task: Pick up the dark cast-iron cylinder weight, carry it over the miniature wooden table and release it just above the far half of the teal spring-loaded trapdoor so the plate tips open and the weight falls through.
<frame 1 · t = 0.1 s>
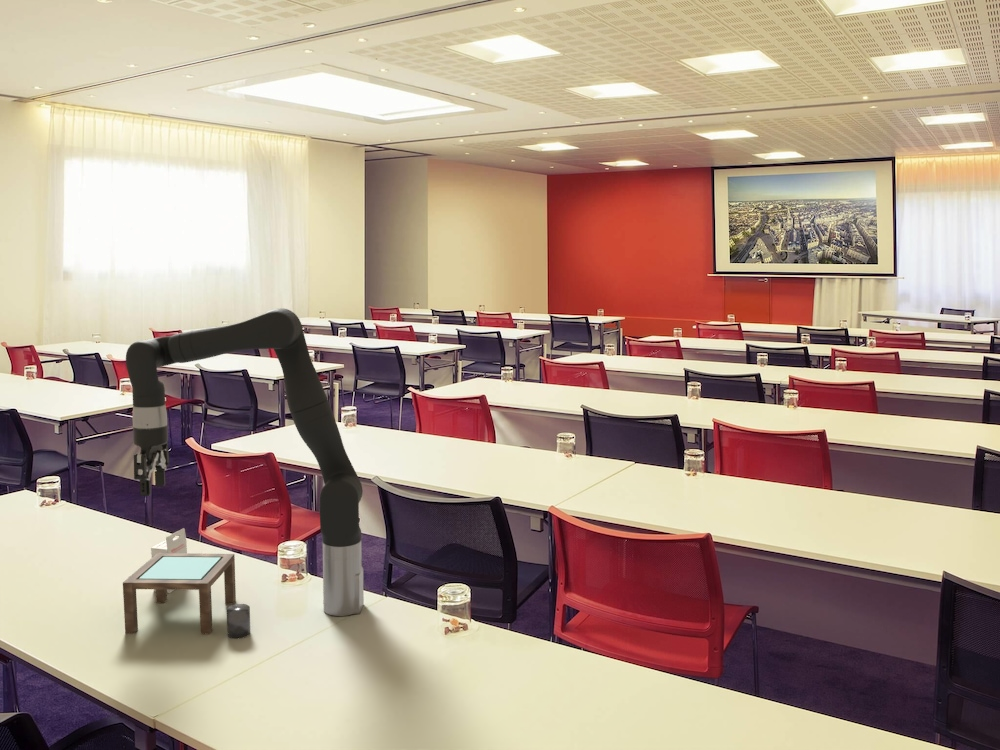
hand: (153, 490, 195), 29 cm above the table, tool pointing down, fingers open, 8 cm apart
trapdoor: (181, 569, 193), point 12 cm above the table, hinge at 0.0°
miniature wooden table: (183, 615, 194), on the table
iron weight: (238, 633, 186), on the table
ink cartridge box: (170, 587, 212), on the table
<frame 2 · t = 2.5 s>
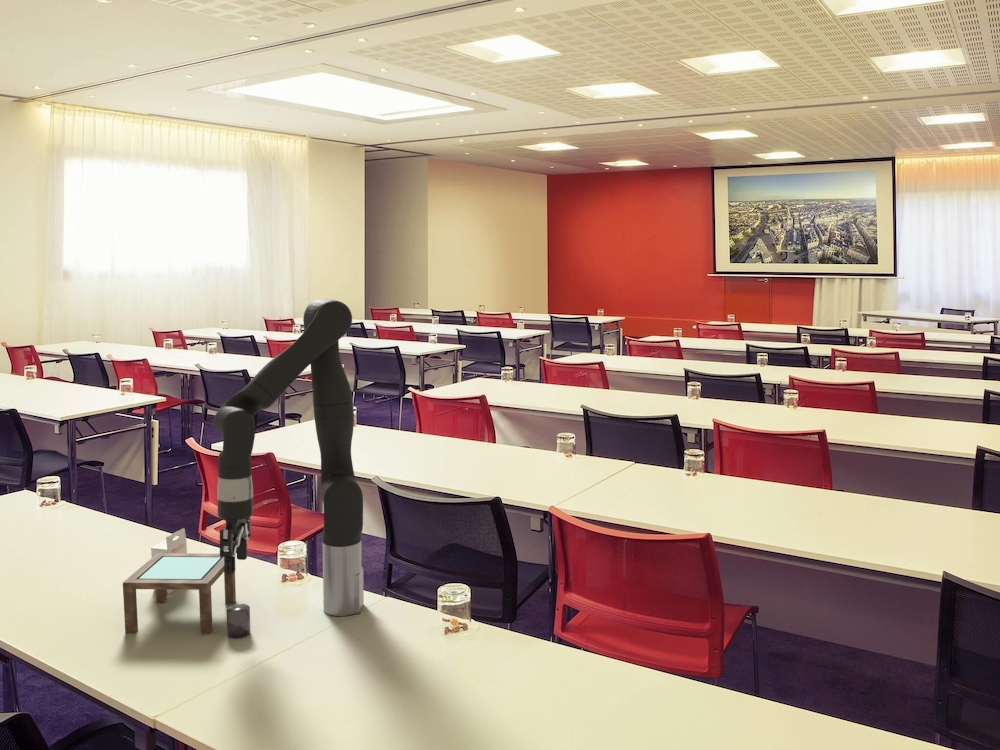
hand: (236, 565, 184), 16 cm above the table, tool pointing down, fingers open, 8 cm apart
nothing on the table moved.
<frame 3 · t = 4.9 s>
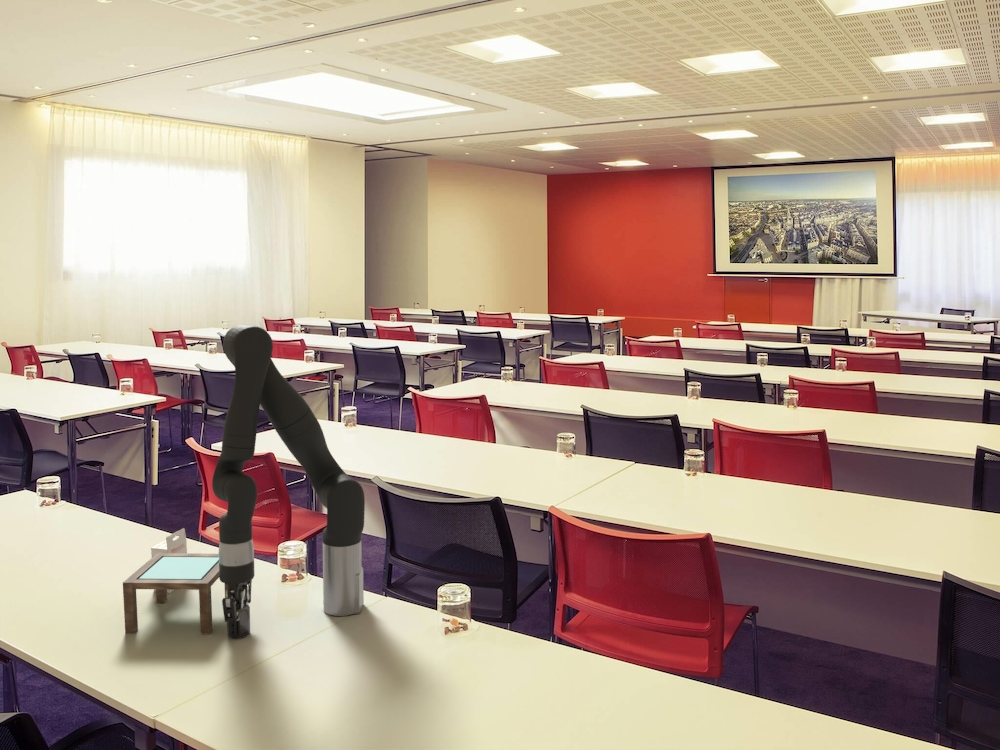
hand: (238, 630, 185), 1 cm above the table, tool pointing down, fingers closed on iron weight, 5 cm apart
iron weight: (238, 633, 186), on the table, touching gripper
everything else where it was.
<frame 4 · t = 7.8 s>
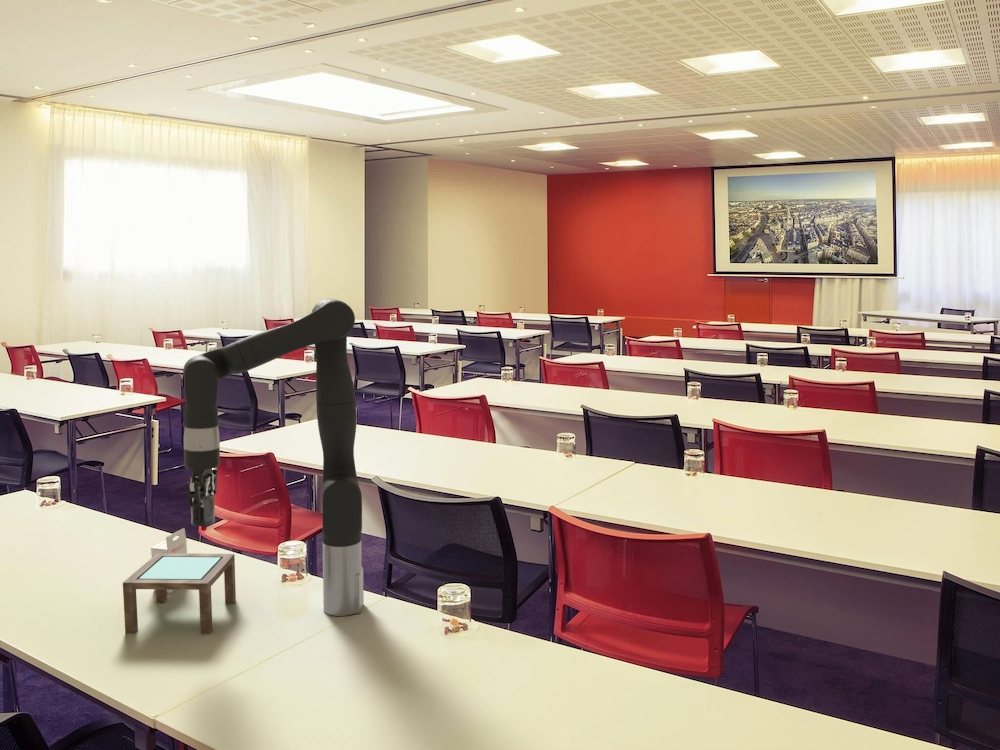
hand: (203, 519, 185), 26 cm above the table, tool pointing down, fingers closed on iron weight, 5 cm apart
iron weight: (203, 522, 185), point 25 cm above the table, touching gripper
everything else where it was.
when the fingers open (15 cm above the table, at t = 10.7 s): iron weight drops 7 cm, resting on trapdoor, miniature wooden table.
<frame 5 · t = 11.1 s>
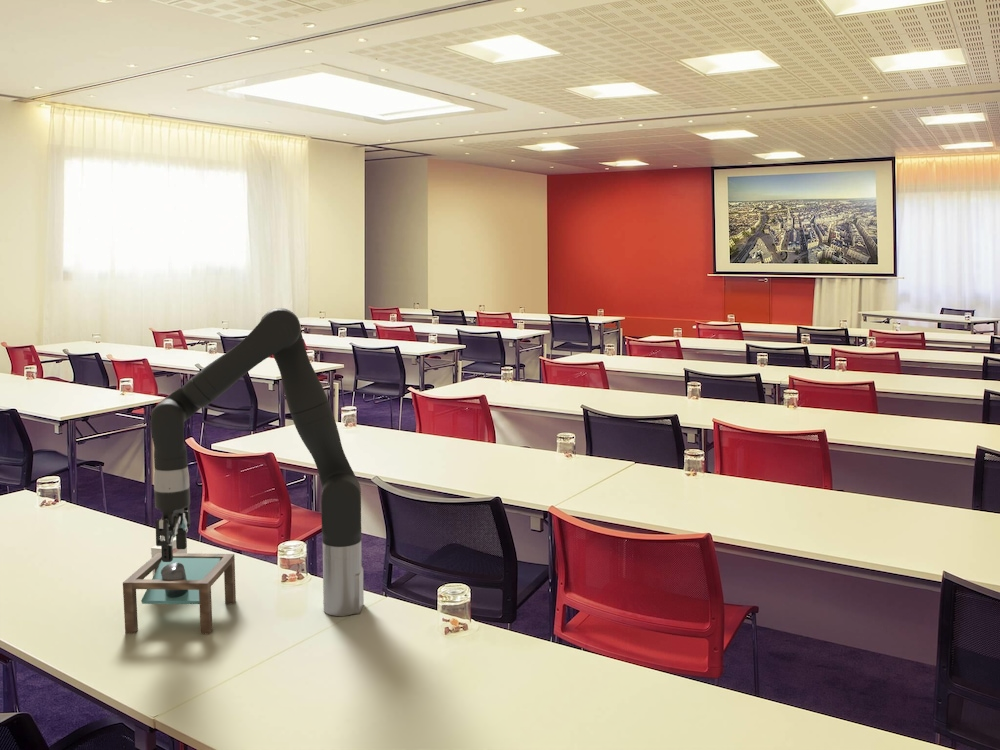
hand: (174, 554, 189), 16 cm above the table, tool pointing down, fingers open, 8 cm apart
trapdoor: (182, 580, 194), point 9 cm above the table, hinge at -23.2°, touching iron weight
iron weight: (176, 590, 190), point 8 cm above the table, tilted 20°, touching trapdoor, miniature wooden table
everything else where it was.
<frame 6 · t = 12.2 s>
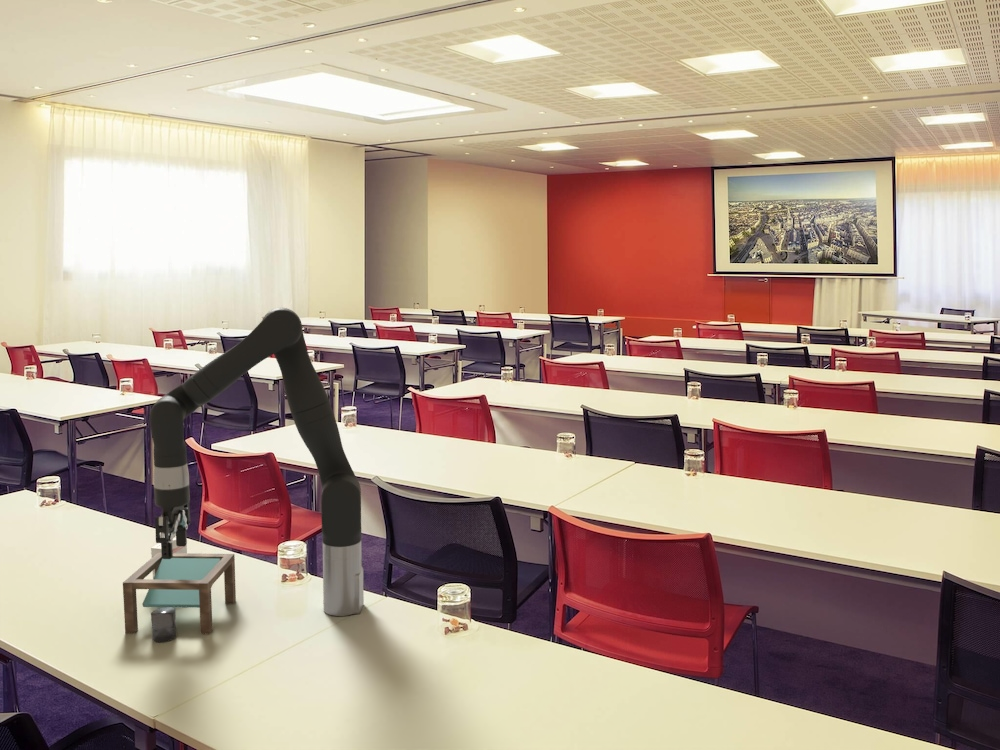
hand: (174, 552, 189), 17 cm above the table, tool pointing down, fingers open, 8 cm apart
trapdoor: (182, 582, 194), point 8 cm above the table, hinge at -27.6°
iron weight: (163, 611, 182), point 6 cm above the table, tilted 179°
everything else where it was.
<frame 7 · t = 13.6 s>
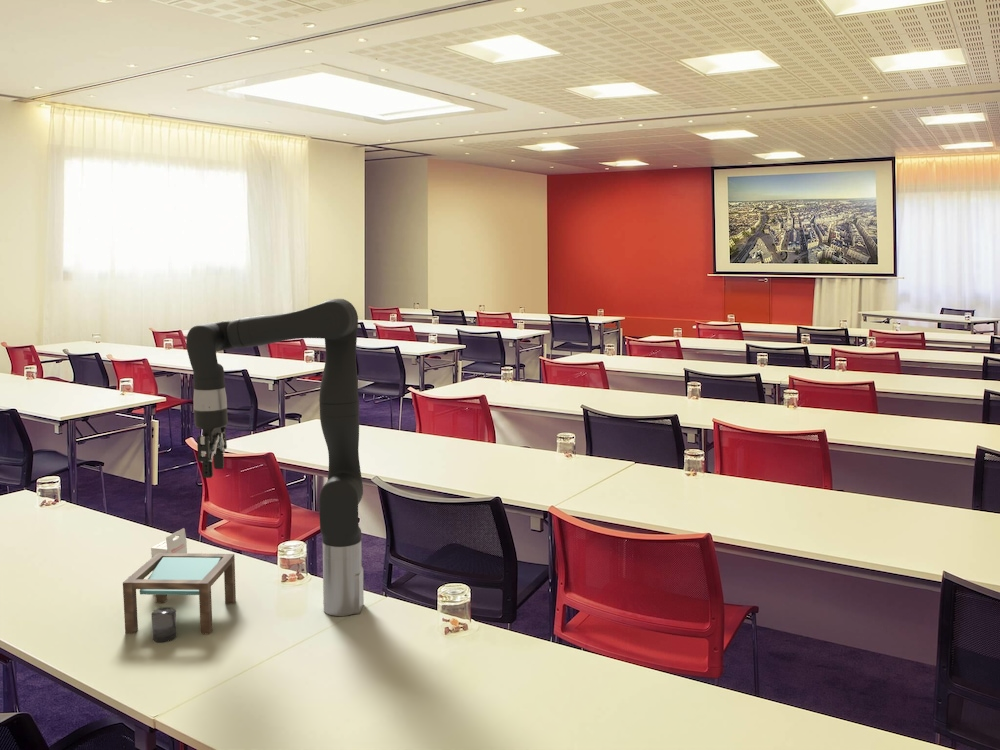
hand: (213, 472, 198), 33 cm above the table, tool pointing down, fingers open, 8 cm apart
trapdoor: (181, 575, 193), point 10 cm above the table, hinge at -12.0°
everything else where it was.
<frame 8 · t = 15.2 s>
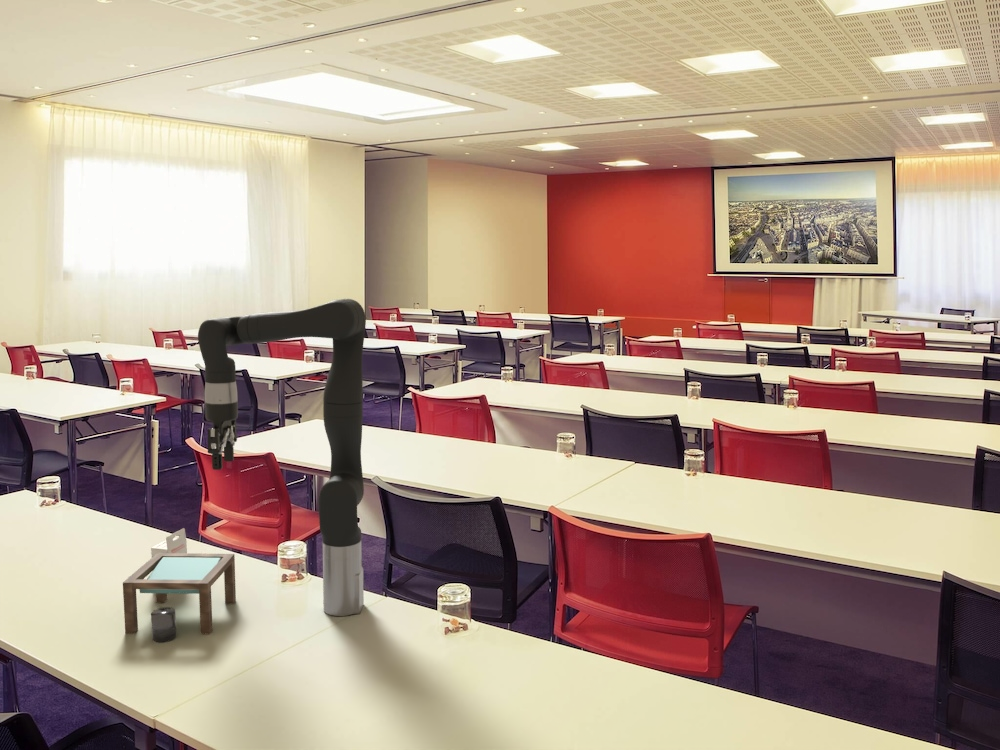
hand: (223, 465, 201), 34 cm above the table, tool pointing down, fingers open, 8 cm apart
trapdoor: (181, 574, 193), point 10 cm above the table, hinge at -10.5°
everything else where it was.
at the end: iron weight inside the target area on the miniature wooden table (4.4 cm from its centre), point 6.0 cm above the miniature wooden table's base; the gripper is holding nothing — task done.
